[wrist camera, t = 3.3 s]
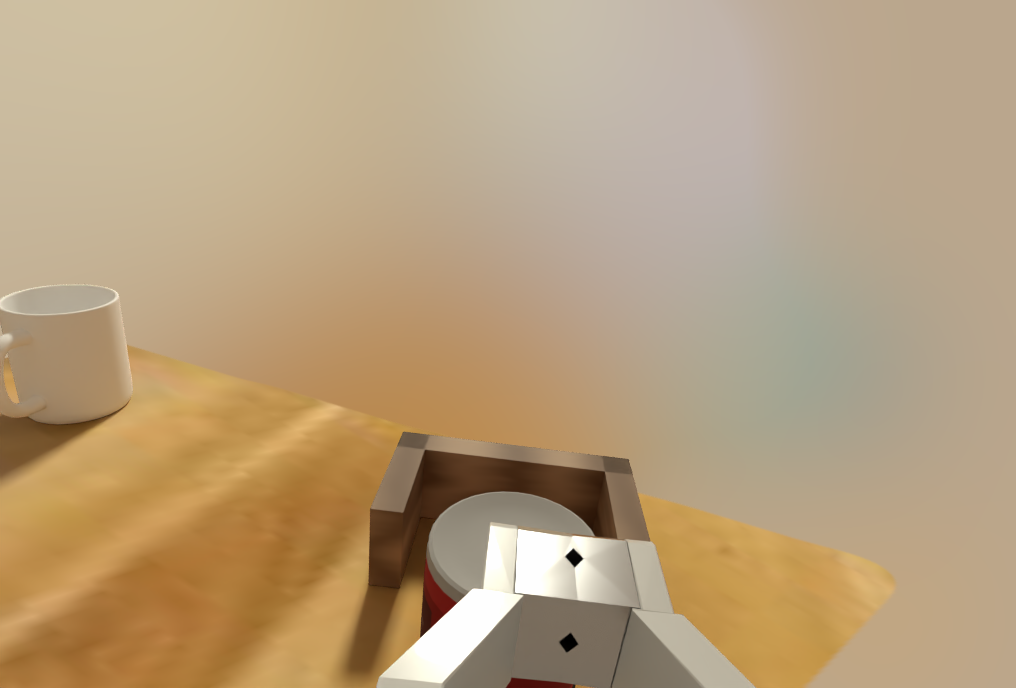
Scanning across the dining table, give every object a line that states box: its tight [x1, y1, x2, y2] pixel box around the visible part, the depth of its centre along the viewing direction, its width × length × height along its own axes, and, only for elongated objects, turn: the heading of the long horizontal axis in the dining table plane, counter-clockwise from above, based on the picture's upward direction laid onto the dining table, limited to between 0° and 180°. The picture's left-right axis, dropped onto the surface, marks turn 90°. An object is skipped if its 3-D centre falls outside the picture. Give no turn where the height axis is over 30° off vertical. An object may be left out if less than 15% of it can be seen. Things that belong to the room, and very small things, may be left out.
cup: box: [0, 284, 133, 424], centre depth 48 cm, size 8×12×10 cm
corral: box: [369, 432, 650, 588], centre depth 39 cm, size 17×9×6 cm, turn 87°
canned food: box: [420, 492, 595, 688], centre depth 28 cm, size 8×8×11 cm
